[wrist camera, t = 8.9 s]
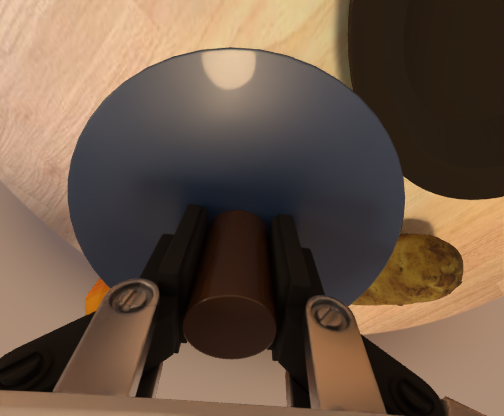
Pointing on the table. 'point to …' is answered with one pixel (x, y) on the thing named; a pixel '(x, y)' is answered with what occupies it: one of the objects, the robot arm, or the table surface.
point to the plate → (435, 88)
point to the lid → (237, 184)
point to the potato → (416, 272)
